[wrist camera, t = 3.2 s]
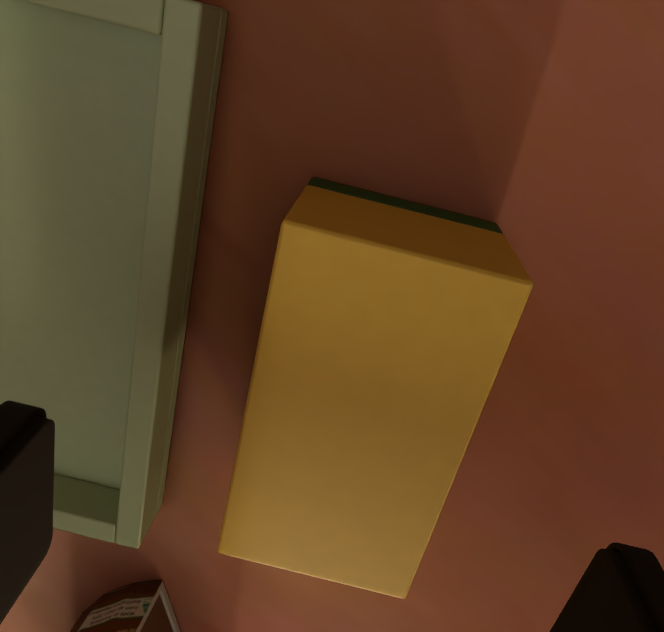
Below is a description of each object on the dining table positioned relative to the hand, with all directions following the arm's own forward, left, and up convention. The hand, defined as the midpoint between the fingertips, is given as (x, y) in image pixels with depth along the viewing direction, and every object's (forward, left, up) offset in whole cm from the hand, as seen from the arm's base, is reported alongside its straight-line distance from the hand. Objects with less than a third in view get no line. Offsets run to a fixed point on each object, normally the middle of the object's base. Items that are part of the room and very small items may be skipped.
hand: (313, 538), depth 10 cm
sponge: (-1, 0, -8) cm, 8 cm away
